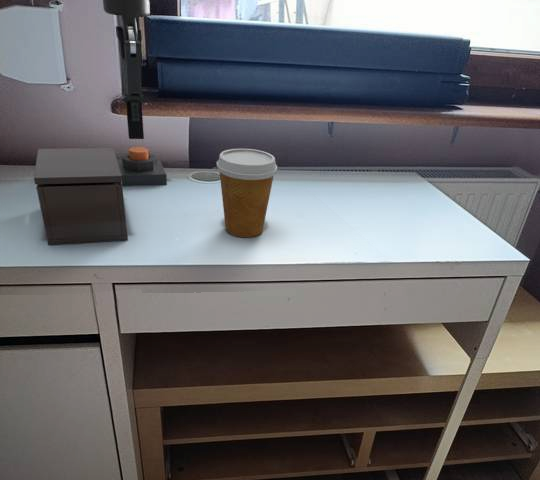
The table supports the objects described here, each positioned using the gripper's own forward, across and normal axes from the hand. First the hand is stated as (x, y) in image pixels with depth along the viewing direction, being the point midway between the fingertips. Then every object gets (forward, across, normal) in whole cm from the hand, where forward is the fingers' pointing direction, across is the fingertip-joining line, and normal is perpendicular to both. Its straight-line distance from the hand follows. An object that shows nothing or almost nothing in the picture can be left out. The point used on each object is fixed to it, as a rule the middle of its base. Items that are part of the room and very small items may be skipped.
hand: (136, 137), depth 97 cm
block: (+8, 0, 0) cm, 8 cm away
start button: (+4, 0, 0) cm, 4 cm away
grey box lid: (-2, -22, +11) cm, 25 cm away
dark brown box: (+8, -22, +11) cm, 25 cm away
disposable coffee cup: (+8, -28, -14) cm, 32 cm away
